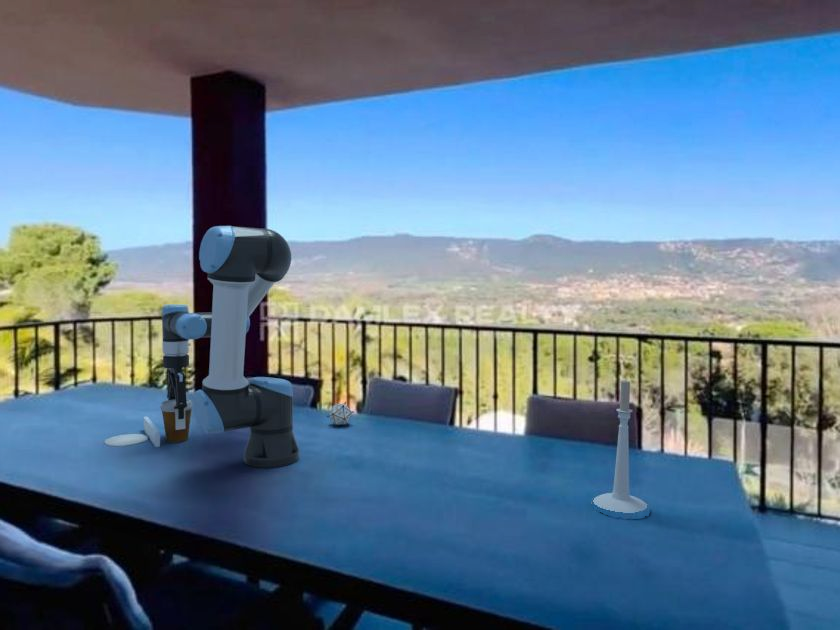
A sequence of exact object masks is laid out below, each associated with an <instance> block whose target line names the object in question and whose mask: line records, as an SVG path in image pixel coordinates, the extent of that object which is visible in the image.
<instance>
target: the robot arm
mask: <svg viewBox="0 0 840 630" xmlns="http://www.w3.org/2000/svg"><path fill="white" fill-rule="evenodd" d="M199 246H200V247H199V253H198V258H199V261H200V262H199V265H200V268H201V270H202V272H205V273H206V274H207V280H208V281H209V282H210V283H211V284H212V285H213V286H212V287H213V290H212V307H211V311H210V312H209V311H207V312H189V307H188V305H186V304H165V305H163V306H162V309H161V310H162V314H161V320H162V321H161V323H162V330H161V331H162V341H161V342H162V354H163V356H162V366H163V368H166V369H167V394H166V398H167V401H168V400H174V399H175V400H176V407H174V409H175V420H176V430H179V429H185V407H187V400H188V399H187V389H186V374H185V373H184V372H183V368H187V367H188V368H189V366H190V356H189V354H188V353H189V351H190V349H189V347H190V346H191V345H192V343H191V342H190V341H189V340H197V339H200V338H210V349H209V368H208V375H207V376H206V377H205V378H203V380H202V382H201V383H202V385H201V386H202V387H201V389H198V390H196V391H195V392H193V396H192V404H193V406H192V409H193V414H194V417H195V421H196V422H197V424H198V426H199V428H200V429H201V430H202V431H203V432H204V433H206V434H208V435H209V434H218V433H219V434H223V433H225V432H232V431H237V430H241V429H247V428H250V431H249V432H250V433H249V437H248V440H247V442H246V446H245V450H244V453H243V462H244V464H246V465H247V466H251V467H255V468H263V469H264V468H267V469H268V467H269V468H278V467H279V466H280V467H284V466H289V465H291V464H293V463H294V464H295V463H296V462H297V461H298V460H300V449H299V446H298V443H297V440H296V438H295V434H294V431H293V430H294V427H293V426H294V425H293V424H294V422H293V421H294V419H293V417H294V415H293V414H294V413H293V412H294V409H293V408H294V406H293V404H294V391H293V383H292V382H290V381H289V380H286V379H284V378H276V377H270V376H269V377H266V376H255V377H251V378H250V379H249V380H248V379H247V378H246V377H245V376H244V370H245V369H244V367H245V353H246V352H245V350H246V337H247V336H246V335H247V334H248V332H249V330H250V326H251V320H250V316H251V315H252V314H253V312H254V311H255V309H256V308H257V307H258V305H259V304H260V303H261V302H262V300H263V299H264V297H266V295H267V293H268V292H269V291H270V290H271V288H272V287H273V286H274V284H275V283H278V282H280V281H282V280H283V279H284V278H285V276H286V275H287V273H288V271H290V267H291V264H292V252H291V248H290V246H289V243H288V242H287V240H286V239H285V238H284V236H282V235H281V234H280V233H279V232H277V231H275V230H273V229H269V228H257V227H245V226H232V225H218V226H217V225H216V226H215V225H214V226H212V227H210V228H209V229H207V231H206V232H205V234H204V235H203V237H202V240H201V242H200V245H199ZM186 399H187V400H186ZM180 403H182V404H180Z"/></svg>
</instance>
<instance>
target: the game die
mask: <svg viewBox="0 0 840 630" xmlns="http://www.w3.org/2000/svg"><path fill="white" fill-rule="evenodd" d="M331 405H332V407H331V409H330V411H329V415H326V418H329V419H330V420H331V422H333V423H334V428H336V427H337V426H341V425H347V426H350V424H349V421H350V418H351V416H352V414H353V413H355V411H353V410H351V409H350V408H349V406H348V405H347V402H346V401H345V402H344V403H336V404H334V403H333V402H331Z"/></svg>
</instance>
